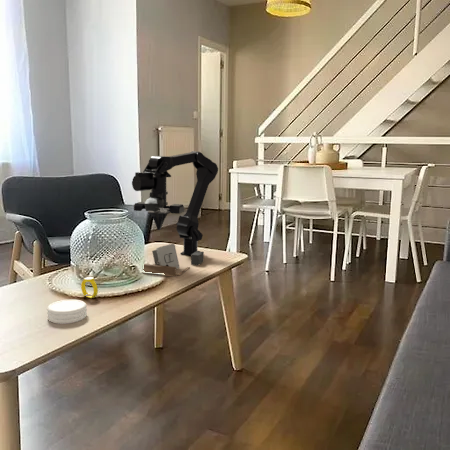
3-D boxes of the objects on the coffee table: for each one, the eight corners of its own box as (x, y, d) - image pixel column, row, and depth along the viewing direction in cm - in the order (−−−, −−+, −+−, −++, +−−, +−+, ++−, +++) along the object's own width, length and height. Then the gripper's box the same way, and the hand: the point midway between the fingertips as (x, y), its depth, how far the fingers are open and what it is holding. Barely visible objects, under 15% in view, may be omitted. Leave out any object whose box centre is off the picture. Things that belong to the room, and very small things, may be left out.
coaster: (73, 308, 137) (72, 296, 136) (94, 317, 130) (94, 304, 130) (40, 317, 129) (39, 305, 128) (61, 327, 123) (60, 314, 122)
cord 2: (196, 261, 190) (196, 251, 189) (203, 261, 189) (203, 251, 188) (190, 264, 184) (191, 254, 183) (198, 265, 183) (198, 255, 182)
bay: (153, 264, 183) (153, 256, 183) (190, 267, 179) (190, 259, 179) (139, 272, 172) (139, 264, 171) (177, 276, 168) (177, 268, 167)
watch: (79, 297, 146) (78, 277, 145) (87, 294, 148) (85, 275, 148) (92, 300, 143) (91, 280, 142) (100, 297, 145) (98, 278, 144)
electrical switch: (163, 274, 171) (161, 248, 170) (152, 273, 174) (150, 247, 172) (180, 268, 178) (178, 243, 177) (169, 267, 181) (167, 243, 180)
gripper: (126, 190, 179) (127, 231, 182) (173, 193, 174) (173, 235, 177) (139, 187, 190) (140, 226, 193) (184, 189, 185) (184, 230, 188)
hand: (159, 229), depth 187 cm, fingers closed
